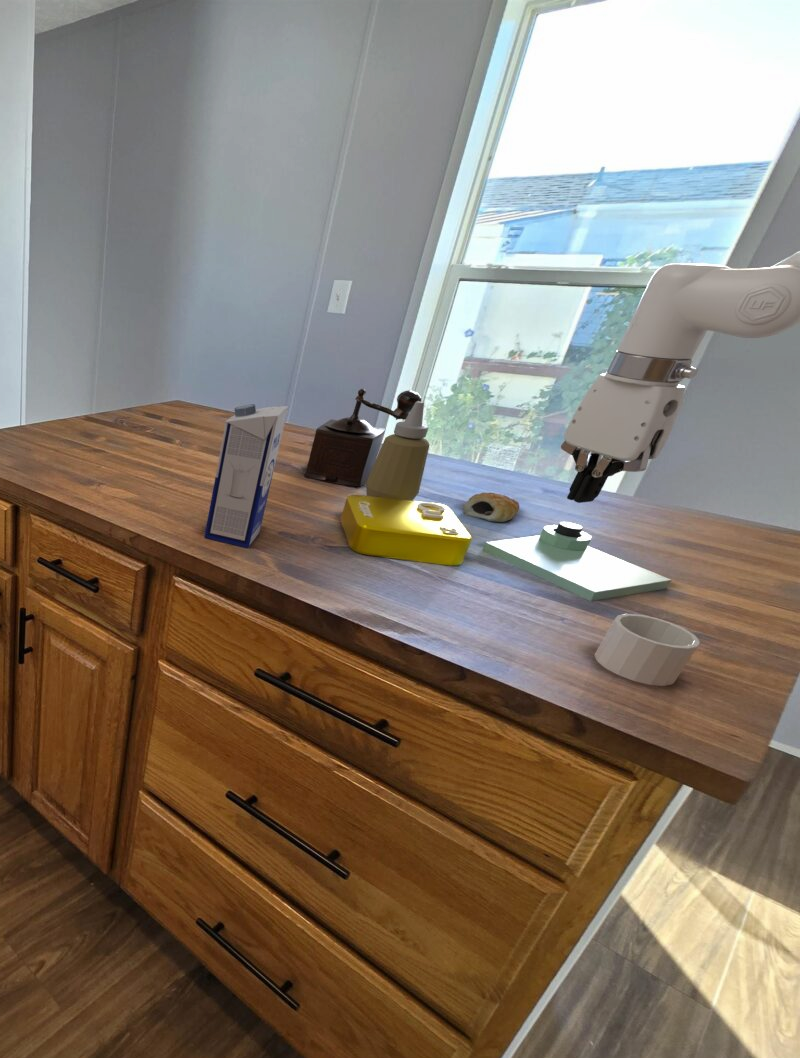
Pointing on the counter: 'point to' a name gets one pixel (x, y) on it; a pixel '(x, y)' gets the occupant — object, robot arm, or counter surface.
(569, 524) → the tare button
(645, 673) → the small bowl
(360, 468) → the manual coffee grinder
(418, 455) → the squeeze bottle
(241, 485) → the milk carton
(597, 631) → the counter surface
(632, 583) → the scale
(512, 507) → the pastry
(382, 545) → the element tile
